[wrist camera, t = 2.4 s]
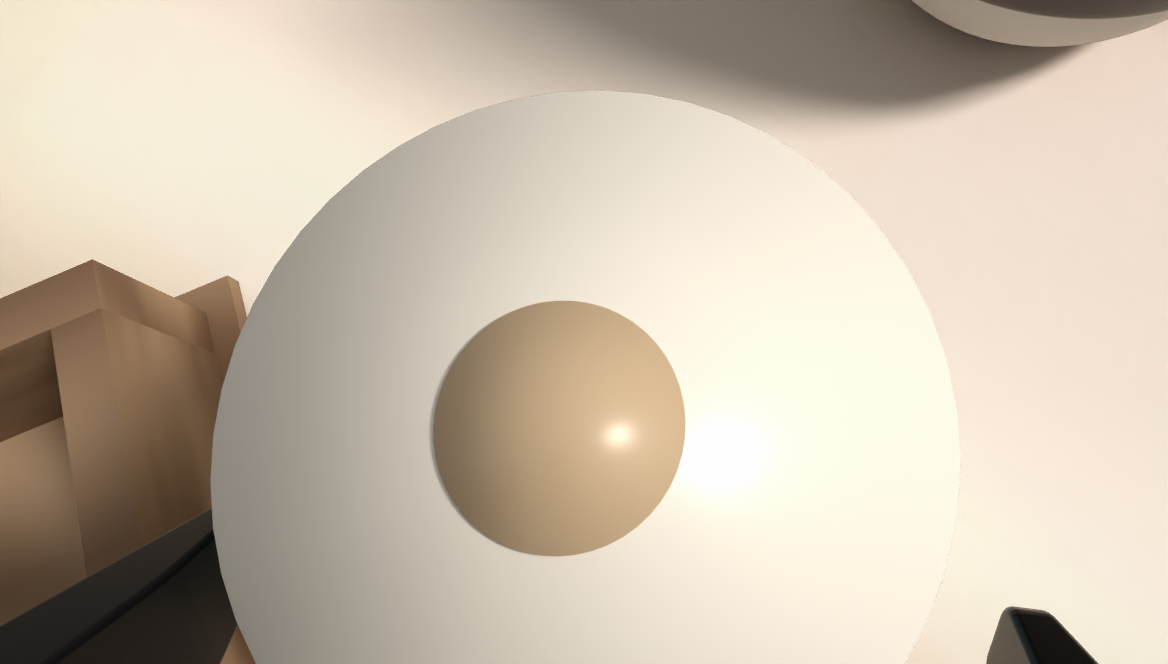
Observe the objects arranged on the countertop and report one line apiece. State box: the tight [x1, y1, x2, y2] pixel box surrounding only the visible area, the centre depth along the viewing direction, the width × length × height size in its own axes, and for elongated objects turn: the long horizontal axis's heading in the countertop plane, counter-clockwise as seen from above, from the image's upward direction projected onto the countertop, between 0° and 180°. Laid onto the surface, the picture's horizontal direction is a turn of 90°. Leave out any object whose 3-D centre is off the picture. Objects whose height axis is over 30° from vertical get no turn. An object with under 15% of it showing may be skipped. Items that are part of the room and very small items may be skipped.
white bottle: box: [210, 90, 961, 664], centre depth 12 cm, size 7×7×12 cm
